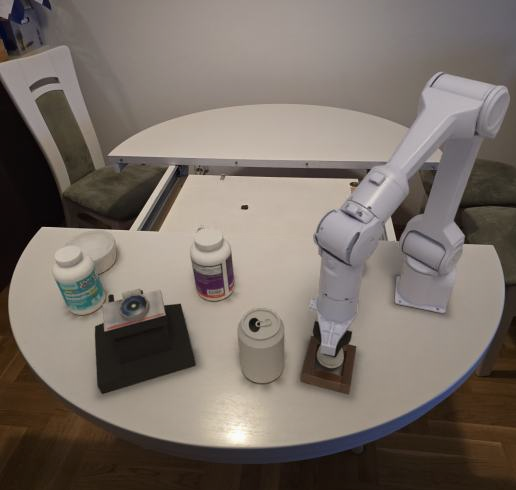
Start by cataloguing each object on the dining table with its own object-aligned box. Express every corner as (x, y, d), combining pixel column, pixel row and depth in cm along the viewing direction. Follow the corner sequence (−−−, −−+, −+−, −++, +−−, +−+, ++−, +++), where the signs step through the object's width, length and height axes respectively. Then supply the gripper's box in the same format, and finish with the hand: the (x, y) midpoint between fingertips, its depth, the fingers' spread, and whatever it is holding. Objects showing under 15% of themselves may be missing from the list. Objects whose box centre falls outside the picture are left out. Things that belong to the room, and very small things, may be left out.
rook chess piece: (342, 371, 66) (348, 341, 61) (315, 367, 67) (318, 337, 62) (343, 349, 69) (348, 318, 64) (317, 345, 70) (320, 315, 65)
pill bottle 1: (71, 322, 79) (47, 272, 71) (66, 297, 84) (43, 248, 76) (109, 308, 82) (91, 258, 73) (103, 285, 87) (84, 236, 79)
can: (240, 350, 73) (235, 305, 66) (281, 346, 73) (281, 301, 66) (242, 388, 67) (237, 343, 60) (286, 383, 67) (287, 339, 60)
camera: (77, 351, 58) (76, 276, 68) (103, 396, 68) (99, 324, 78) (186, 321, 61) (169, 254, 72) (196, 368, 71) (180, 303, 82)
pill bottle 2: (218, 270, 90) (211, 217, 81) (242, 288, 85) (238, 235, 76) (189, 289, 85) (178, 236, 76) (213, 309, 81) (205, 255, 72)
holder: (354, 354, 72) (356, 345, 70) (348, 394, 66) (350, 386, 64) (310, 343, 74) (311, 335, 72) (300, 382, 68) (301, 373, 66)
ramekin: (92, 286, 87) (85, 268, 84) (59, 268, 92) (51, 251, 88) (130, 256, 94) (125, 239, 91) (98, 241, 99) (92, 224, 96)
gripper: (321, 249, 64) (316, 307, 72) (300, 318, 53) (297, 376, 61) (366, 257, 62) (356, 315, 70) (354, 330, 51) (344, 389, 59)
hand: (331, 344), depth 66 cm, fingers closed on rook chess piece, 3 cm apart
